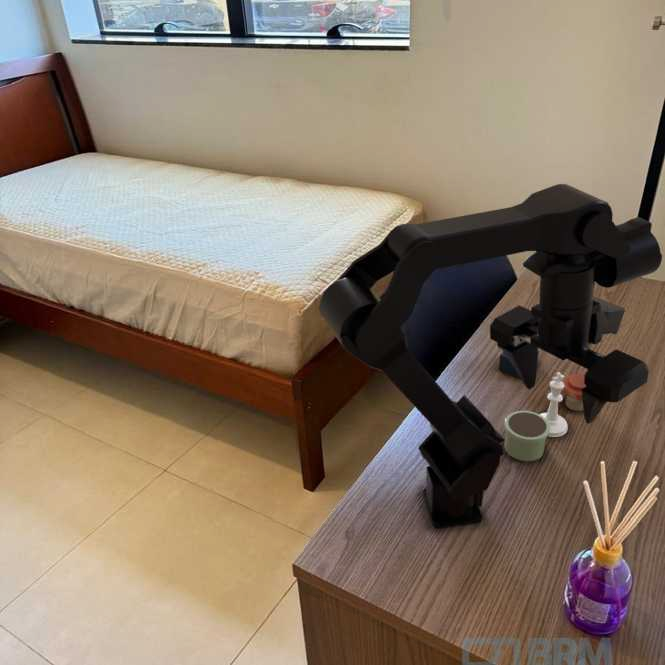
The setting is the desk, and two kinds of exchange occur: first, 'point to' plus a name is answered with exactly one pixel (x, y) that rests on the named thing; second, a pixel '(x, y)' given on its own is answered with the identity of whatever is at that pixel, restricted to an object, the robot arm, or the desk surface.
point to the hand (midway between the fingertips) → (559, 403)
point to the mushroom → (574, 391)
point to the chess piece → (555, 408)
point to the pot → (526, 435)
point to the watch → (509, 365)
